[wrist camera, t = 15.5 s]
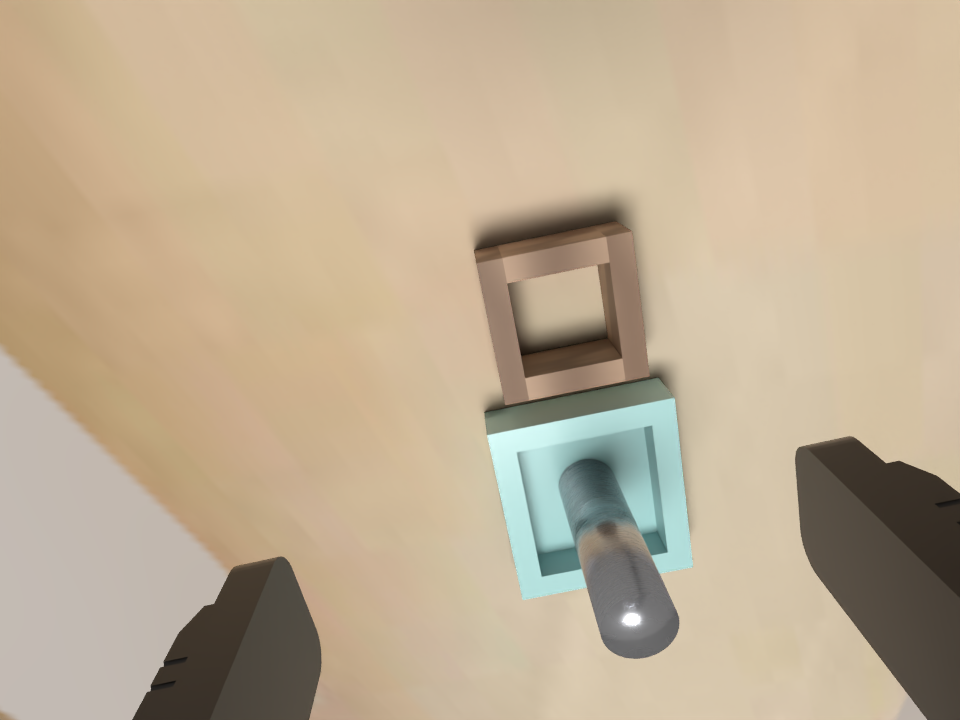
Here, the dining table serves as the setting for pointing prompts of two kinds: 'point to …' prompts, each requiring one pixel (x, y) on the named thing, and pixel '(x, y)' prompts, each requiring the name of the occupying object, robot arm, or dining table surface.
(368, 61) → the dining table surface
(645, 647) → the pin
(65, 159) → the dining table surface
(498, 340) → the holder
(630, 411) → the tray
